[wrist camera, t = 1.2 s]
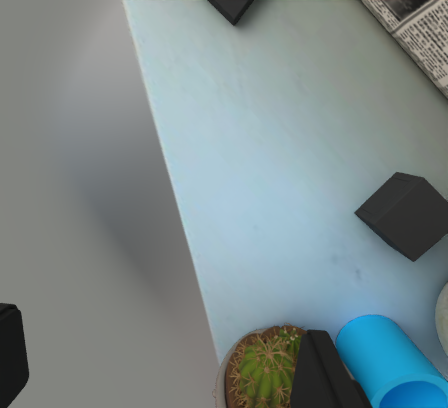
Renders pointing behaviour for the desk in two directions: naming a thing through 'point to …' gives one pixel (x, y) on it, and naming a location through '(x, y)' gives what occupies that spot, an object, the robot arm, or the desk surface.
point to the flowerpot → (260, 369)
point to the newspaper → (418, 33)
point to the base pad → (231, 8)
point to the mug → (390, 365)
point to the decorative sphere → (442, 318)
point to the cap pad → (407, 214)
